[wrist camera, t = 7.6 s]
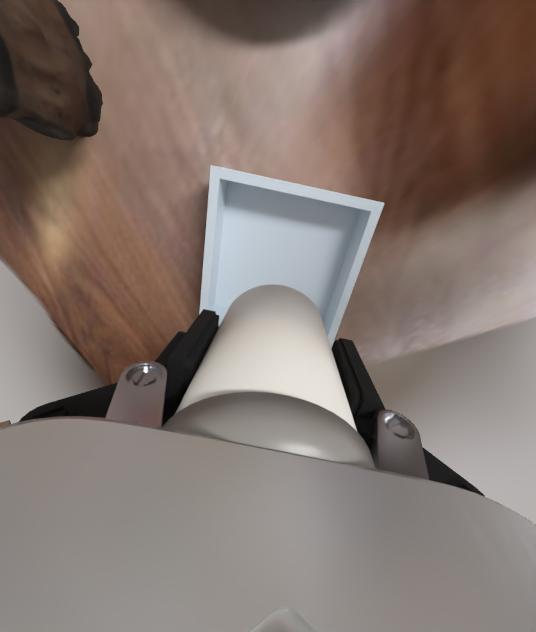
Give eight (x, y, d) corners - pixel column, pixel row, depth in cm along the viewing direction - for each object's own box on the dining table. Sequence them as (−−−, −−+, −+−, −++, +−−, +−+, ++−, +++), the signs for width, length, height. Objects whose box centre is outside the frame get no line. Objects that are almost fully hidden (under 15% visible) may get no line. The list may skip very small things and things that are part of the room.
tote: (369, 202, 29) (384, 202, 25) (325, 330, 37) (331, 347, 33) (222, 170, 29) (210, 165, 24) (209, 306, 37) (198, 321, 32)
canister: (340, 295, 12) (449, 477, 4) (309, 381, 15) (339, 600, 7) (228, 270, 12) (117, 412, 4) (215, 362, 15) (131, 564, 7)
